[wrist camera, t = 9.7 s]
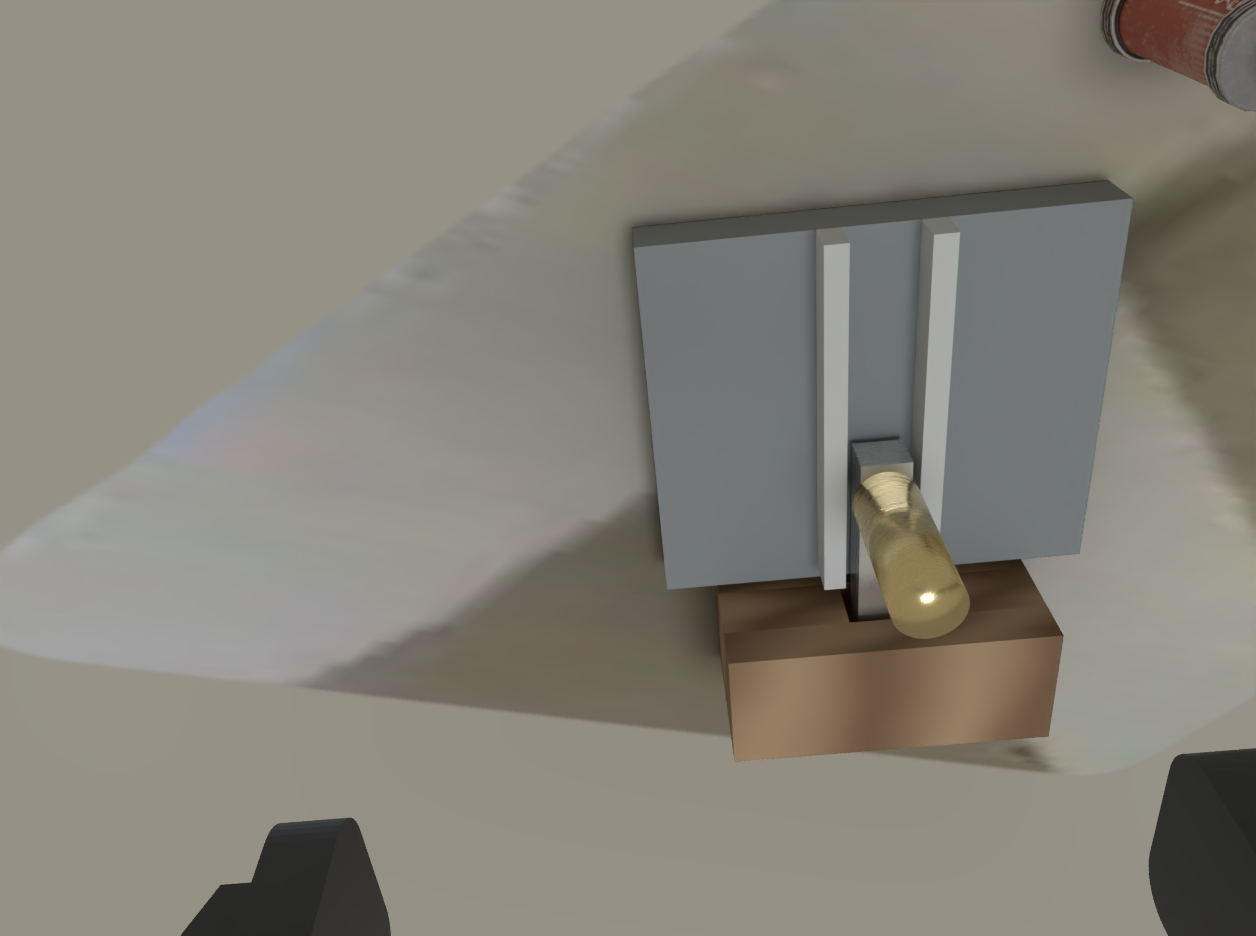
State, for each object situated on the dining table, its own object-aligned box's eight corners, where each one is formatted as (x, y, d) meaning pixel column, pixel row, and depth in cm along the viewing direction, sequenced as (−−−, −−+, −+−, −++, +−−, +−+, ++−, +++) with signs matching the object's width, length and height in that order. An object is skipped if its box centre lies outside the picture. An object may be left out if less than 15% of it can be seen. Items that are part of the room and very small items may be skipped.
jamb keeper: (1009, 539, 43) (1063, 635, 38) (999, 634, 46) (1048, 736, 41) (714, 565, 44) (728, 663, 39) (720, 657, 46) (734, 761, 41)
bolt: (910, 438, 38) (973, 565, 32) (902, 632, 43) (954, 778, 36) (843, 444, 38) (891, 572, 32) (841, 637, 43) (883, 783, 36)
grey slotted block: (1108, 180, 36) (1153, 212, 33) (1060, 524, 43) (1094, 577, 40) (632, 227, 36) (634, 264, 33) (664, 559, 44) (668, 613, 41)
